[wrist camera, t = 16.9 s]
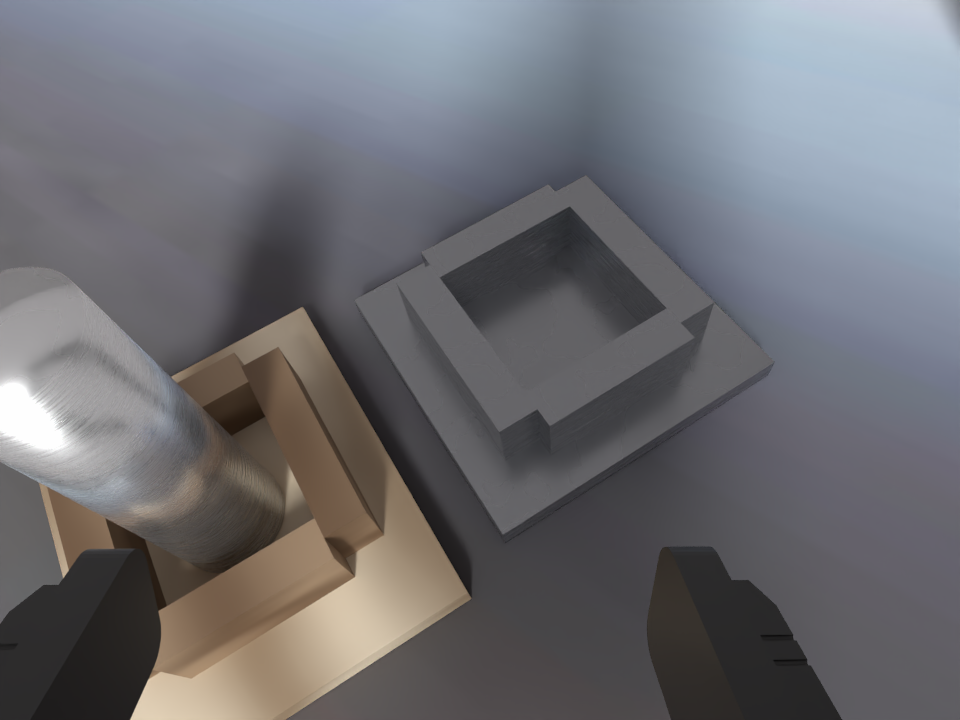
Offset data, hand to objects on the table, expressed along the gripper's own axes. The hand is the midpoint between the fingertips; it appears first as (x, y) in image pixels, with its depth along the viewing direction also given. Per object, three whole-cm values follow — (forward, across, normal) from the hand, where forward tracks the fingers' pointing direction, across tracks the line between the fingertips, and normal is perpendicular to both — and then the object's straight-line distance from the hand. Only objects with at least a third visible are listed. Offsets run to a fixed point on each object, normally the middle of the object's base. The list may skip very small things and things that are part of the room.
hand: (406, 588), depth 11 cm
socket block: (+18, -5, +4) cm, 19 cm away
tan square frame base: (+13, +7, +9) cm, 17 cm away
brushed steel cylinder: (+12, +7, +8) cm, 16 cm away
